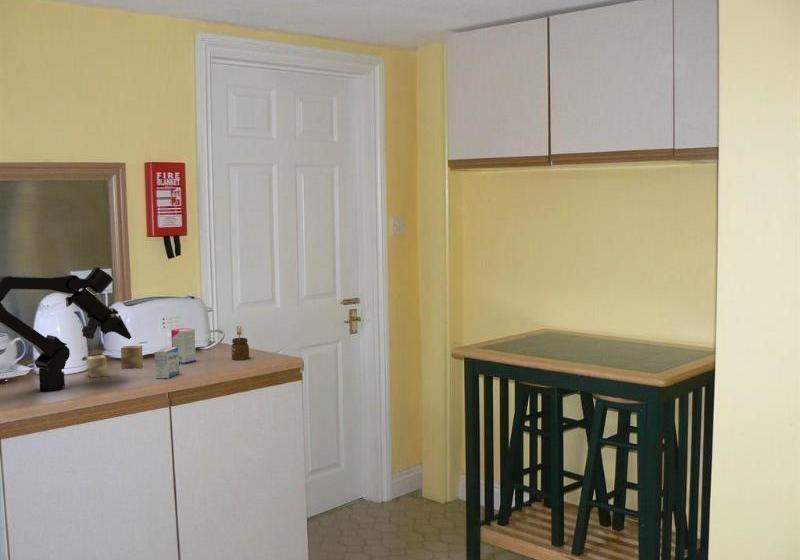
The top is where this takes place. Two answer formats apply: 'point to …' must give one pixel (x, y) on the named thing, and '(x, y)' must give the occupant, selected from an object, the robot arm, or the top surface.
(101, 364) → the beech block
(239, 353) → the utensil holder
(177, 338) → the supplement box
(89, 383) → the top surface
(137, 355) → the oak block
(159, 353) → the medicine box
